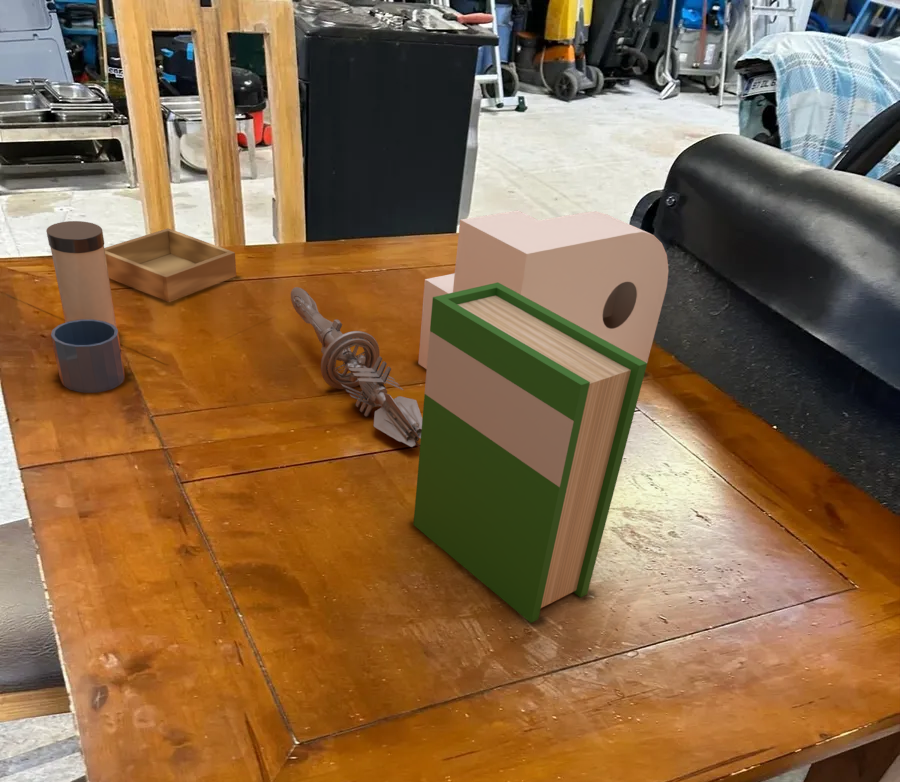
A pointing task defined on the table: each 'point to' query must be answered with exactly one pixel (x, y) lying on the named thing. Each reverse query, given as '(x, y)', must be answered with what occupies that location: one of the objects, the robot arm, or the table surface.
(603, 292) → the stepped bracket block
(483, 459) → the hardback book
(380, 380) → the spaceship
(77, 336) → the cup
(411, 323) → the table surface
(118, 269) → the tray
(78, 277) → the jar
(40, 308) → the table surface
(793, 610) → the table surface
